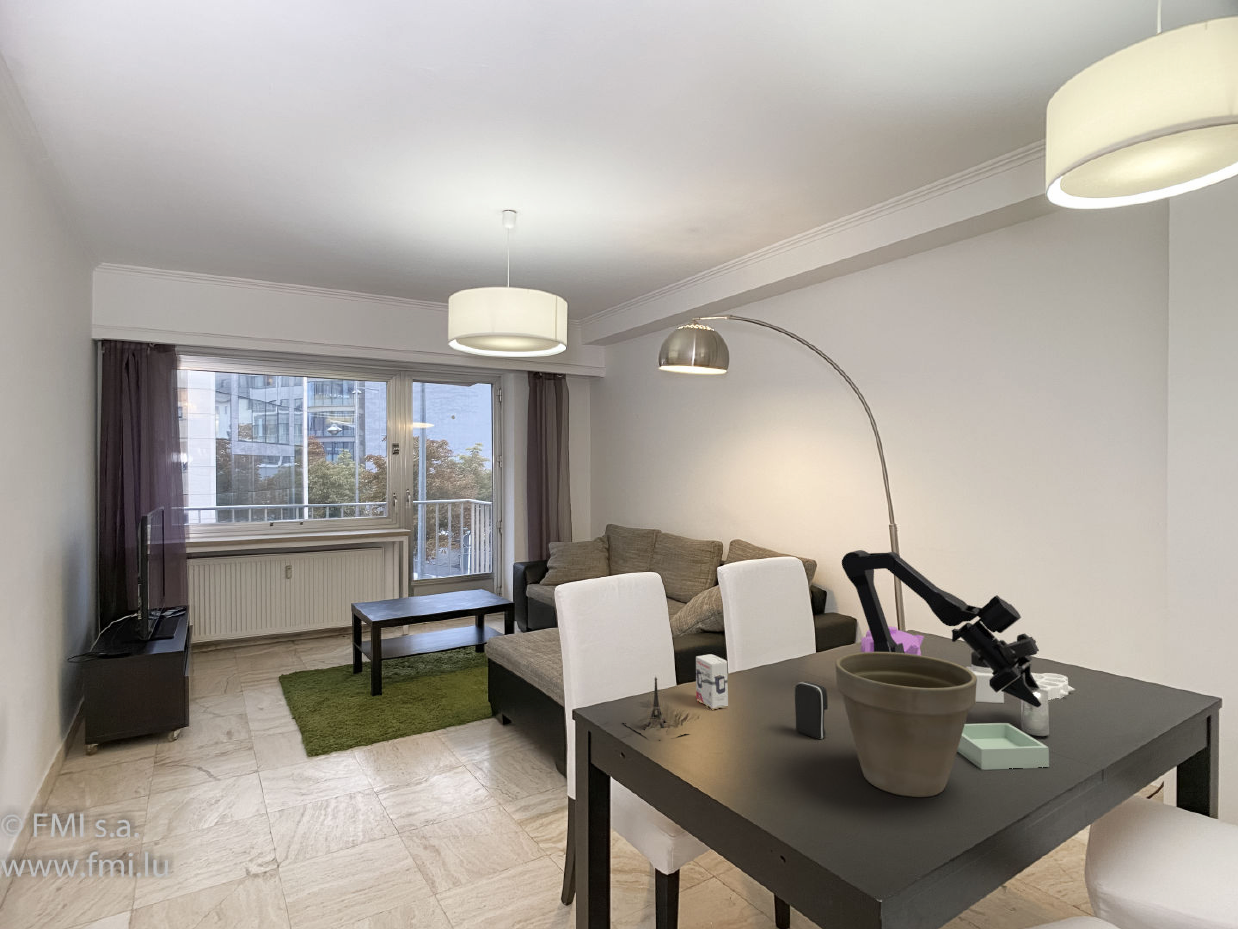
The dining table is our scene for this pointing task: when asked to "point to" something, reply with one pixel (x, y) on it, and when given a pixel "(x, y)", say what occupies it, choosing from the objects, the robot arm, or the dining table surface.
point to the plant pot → (905, 717)
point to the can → (1036, 714)
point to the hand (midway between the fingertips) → (1041, 702)
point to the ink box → (711, 680)
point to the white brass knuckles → (1053, 684)
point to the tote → (1001, 747)
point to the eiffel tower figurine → (657, 717)
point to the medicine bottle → (984, 681)
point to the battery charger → (810, 709)
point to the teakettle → (908, 641)
